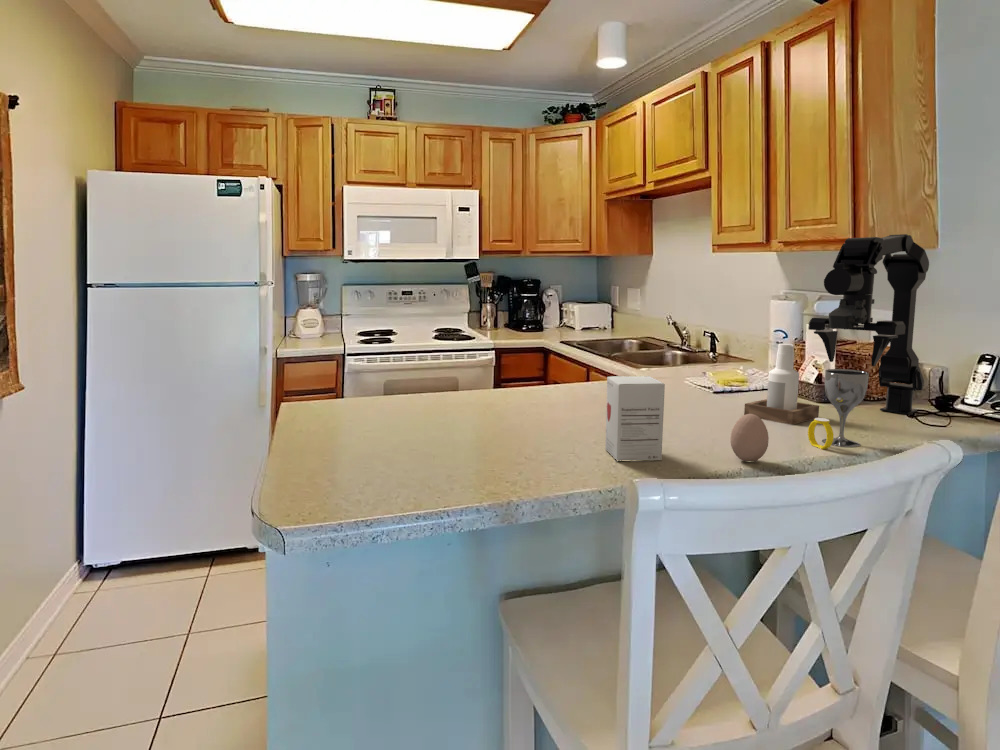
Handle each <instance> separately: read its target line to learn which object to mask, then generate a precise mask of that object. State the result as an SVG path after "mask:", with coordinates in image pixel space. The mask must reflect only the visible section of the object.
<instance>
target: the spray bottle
mask: <svg viewBox="0 0 1000 750" xmlns="http://www.w3.org/2000/svg"><path fill="white" fill-rule="evenodd" d="M794 358H795V353H794V344H792V343H778V346H777V352H776V361H775V368H772V369H771V370H770V371H769V372H768V380H767V381H768V383H767V384H768V385H767V397H766V399H767V407H773V408H778V409H784V410H790V411H791V410H795V409H797V402H798V395H799V393H798V392H799V382H800V373H799V371H797V370H796V369H794V363H795V362H794V361H795V359H794Z"/></svg>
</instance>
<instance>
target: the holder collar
mask: <svg viewBox="0 0 1000 750" xmlns="http://www.w3.org/2000/svg"><path fill="white" fill-rule="evenodd" d="M743 413H744V414H743V416H744V415H746V414H754V415H756V416H758V417H759V418H760V419H761V420H766V421H771V422H774V423H775V422H777V423H781V424H787V425H796V424H799V423H800V424H801V423H804V422H808V421H811V420H814V419H815V418H819V413H820V405H817V404H809V403H804V402H798V401H797V409H795V410H791V411H790V410H784V409H778V408H773V407H767V398H766V399H760V400H756V401H751V402H747V403H744V411H743Z"/></svg>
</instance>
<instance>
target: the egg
mask: <svg viewBox="0 0 1000 750" xmlns="http://www.w3.org/2000/svg"><path fill="white" fill-rule="evenodd" d="M769 439H770V438H769V432H768V429H767V427H766V424H765V423H764V420H763V419H760V418H759V417H758V416H756V415H754V414H746V415H744V414H743V415H742V416H740V417H739V418H738V420H736V422H735V424H734V425H733V427H732V429H731V433H730V447H731V449H732V452H733V453H734V455H735V456H736V457H737V458H738V459H739V460H740V461H743V462H745V461H754V462H756V461H759V460H760V459H762V457H763V456H764V455H765V454H766V452H767V451H768V447H769Z"/></svg>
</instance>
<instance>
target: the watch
mask: <svg viewBox="0 0 1000 750" xmlns="http://www.w3.org/2000/svg"><path fill="white" fill-rule="evenodd" d="M819 424H820V425H822V426H823V427H824V429H825V433H826V439H827V440H826V443H824V445H822V444H818V442H817V440H816V435H815V430H816V426H817V425H819ZM807 437H808V441H809V443H810V445H811V446H812V447H815V448H817V447H818V449H820V448H821V449H820V450H828V449H829V448H830V447H832V446H833V445H832V442H833V438H834V430H833V427H832V424H830V419H829V418H825V417H818V418H815V419H813V421H811V422H810V423H809V426H808V428H807Z"/></svg>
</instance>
